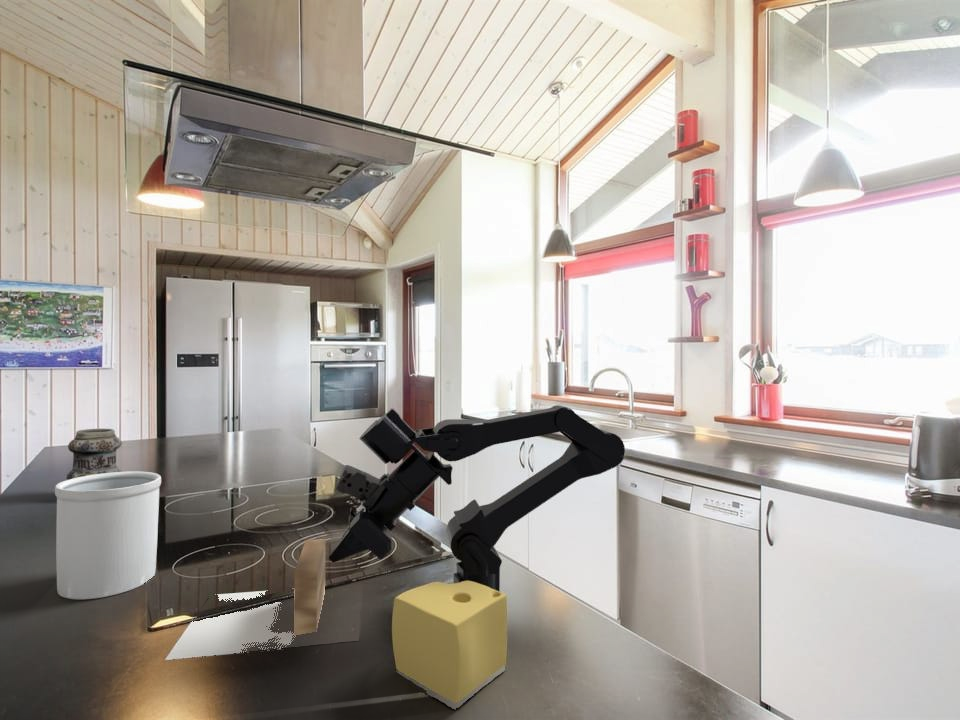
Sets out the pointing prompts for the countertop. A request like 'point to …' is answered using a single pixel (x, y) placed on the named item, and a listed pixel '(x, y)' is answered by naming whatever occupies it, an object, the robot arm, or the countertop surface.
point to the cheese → (450, 636)
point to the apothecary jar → (94, 452)
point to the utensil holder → (106, 533)
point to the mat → (230, 631)
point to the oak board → (309, 587)
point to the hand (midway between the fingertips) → (330, 559)
